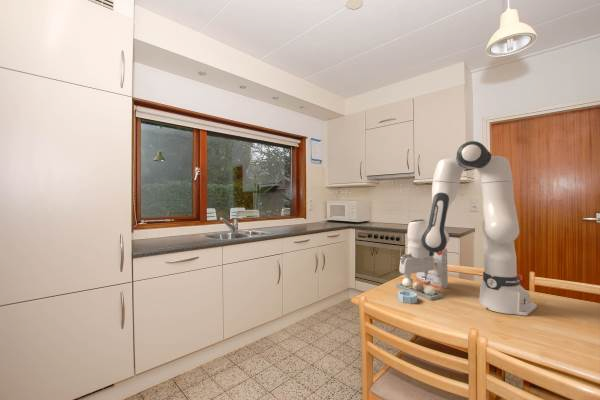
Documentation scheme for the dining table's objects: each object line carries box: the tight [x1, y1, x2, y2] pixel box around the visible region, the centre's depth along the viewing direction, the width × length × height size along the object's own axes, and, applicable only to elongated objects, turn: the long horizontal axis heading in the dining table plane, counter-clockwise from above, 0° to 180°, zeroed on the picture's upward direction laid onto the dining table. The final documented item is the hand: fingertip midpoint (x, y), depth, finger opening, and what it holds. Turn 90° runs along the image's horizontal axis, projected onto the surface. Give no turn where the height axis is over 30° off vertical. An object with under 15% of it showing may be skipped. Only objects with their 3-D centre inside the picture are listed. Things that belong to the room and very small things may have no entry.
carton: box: [395, 282, 444, 301], centre depth 132 cm, size 8×21×2 cm, turn 25°
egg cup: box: [397, 289, 418, 305], centre depth 122 cm, size 8×8×4 cm
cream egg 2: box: [424, 285, 436, 296], centre depth 126 cm, size 5×5×5 cm
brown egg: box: [412, 280, 425, 292], centre depth 132 cm, size 5×5×5 cm
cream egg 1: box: [401, 277, 414, 288], centre depth 138 cm, size 5×5×5 cm
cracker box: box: [415, 247, 448, 290], centre depth 142 cm, size 14×6×21 cm, turn 36°
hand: (417, 281), depth 132 cm, fingers open, 8 cm apart
